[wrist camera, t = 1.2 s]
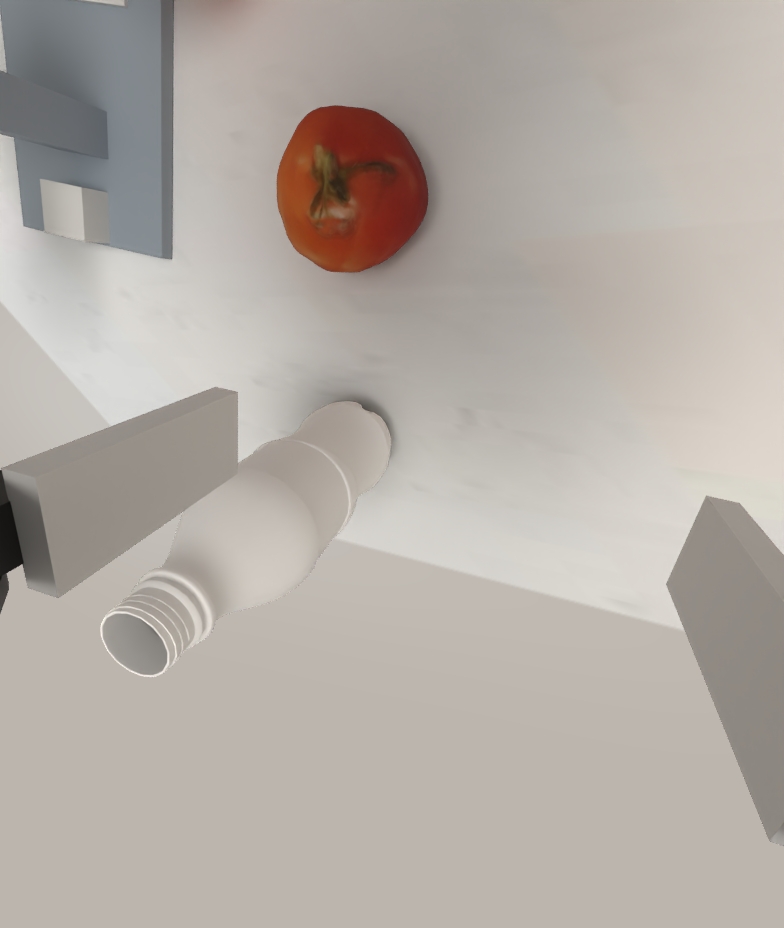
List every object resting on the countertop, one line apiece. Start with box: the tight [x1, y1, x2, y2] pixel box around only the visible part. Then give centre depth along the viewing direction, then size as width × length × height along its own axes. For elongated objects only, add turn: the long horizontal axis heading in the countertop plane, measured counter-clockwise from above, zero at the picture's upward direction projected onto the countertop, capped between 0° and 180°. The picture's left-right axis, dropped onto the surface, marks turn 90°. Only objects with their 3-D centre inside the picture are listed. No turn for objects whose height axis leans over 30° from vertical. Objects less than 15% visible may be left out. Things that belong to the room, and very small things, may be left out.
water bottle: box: [100, 401, 391, 677], centre depth 29 cm, size 7×7×25 cm
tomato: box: [277, 106, 428, 272], centre depth 30 cm, size 9×9×8 cm
